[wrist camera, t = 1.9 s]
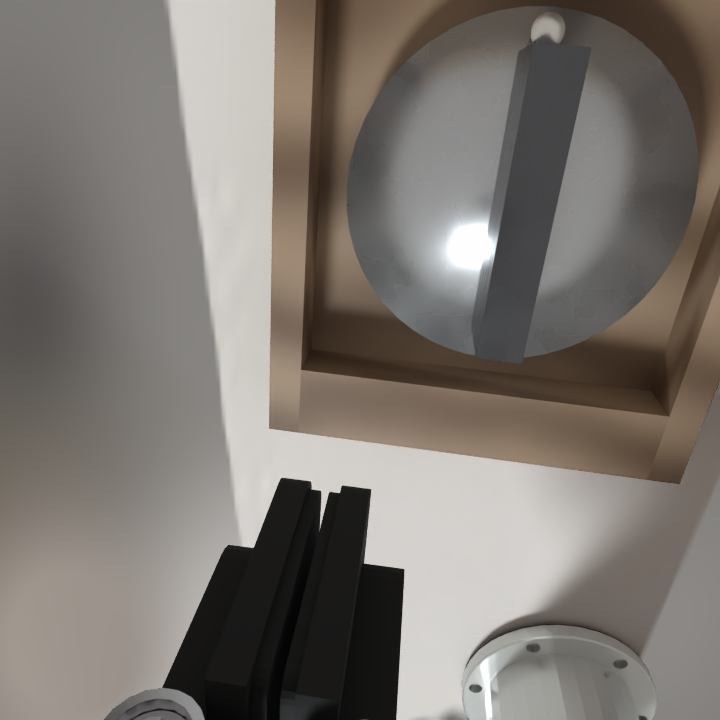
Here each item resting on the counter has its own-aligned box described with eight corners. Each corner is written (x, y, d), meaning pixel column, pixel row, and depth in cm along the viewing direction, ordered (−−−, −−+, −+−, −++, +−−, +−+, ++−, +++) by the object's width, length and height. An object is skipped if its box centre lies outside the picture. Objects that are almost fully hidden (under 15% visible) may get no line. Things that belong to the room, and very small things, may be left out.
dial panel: (651, 439, 31) (681, 486, 27) (285, 391, 32) (265, 430, 29) (845, -121, 21) (937, -169, 17) (300, -151, 22) (272, -202, 19)
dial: (629, 362, 27) (670, 417, 23) (341, 327, 28) (322, 372, 24) (733, 26, 22) (817, 5, 17) (364, -2, 23) (345, -29, 18)
